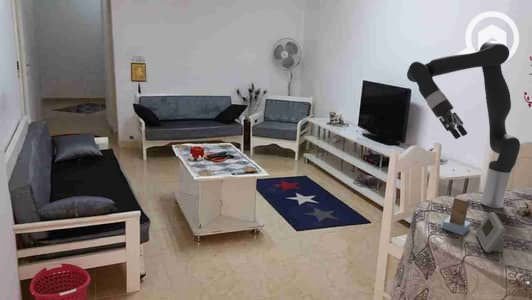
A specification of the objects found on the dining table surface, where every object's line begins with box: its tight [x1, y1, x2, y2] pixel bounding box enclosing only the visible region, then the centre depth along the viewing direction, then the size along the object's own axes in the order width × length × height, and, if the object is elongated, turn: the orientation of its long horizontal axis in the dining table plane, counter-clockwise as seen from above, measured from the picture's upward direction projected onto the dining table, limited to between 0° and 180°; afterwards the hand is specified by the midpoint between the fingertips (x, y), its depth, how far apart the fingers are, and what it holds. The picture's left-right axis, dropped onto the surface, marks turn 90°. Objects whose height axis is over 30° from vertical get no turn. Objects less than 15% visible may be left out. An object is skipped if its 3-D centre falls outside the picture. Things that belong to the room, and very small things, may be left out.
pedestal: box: [441, 216, 472, 236], centre depth 171 cm, size 8×8×3 cm
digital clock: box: [475, 211, 507, 254], centre depth 158 cm, size 16×9×11 cm, turn 154°
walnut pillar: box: [449, 195, 471, 225], centre depth 169 cm, size 4×4×10 cm
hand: (462, 136), depth 175 cm, fingers open, 8 cm apart
